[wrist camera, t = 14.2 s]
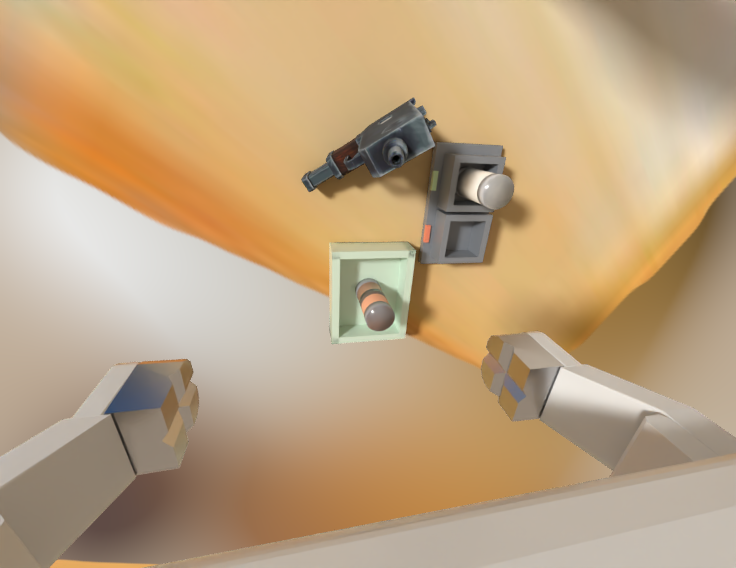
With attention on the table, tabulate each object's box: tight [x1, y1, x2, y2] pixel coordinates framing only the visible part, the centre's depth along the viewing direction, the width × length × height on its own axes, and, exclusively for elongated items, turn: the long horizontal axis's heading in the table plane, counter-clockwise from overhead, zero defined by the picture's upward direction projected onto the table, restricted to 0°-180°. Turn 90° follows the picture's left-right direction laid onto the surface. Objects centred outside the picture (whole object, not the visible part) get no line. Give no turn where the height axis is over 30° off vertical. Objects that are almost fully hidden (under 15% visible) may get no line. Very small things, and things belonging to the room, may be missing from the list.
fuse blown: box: [355, 278, 395, 331], centre depth 43 cm, size 4×4×8 cm
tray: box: [329, 242, 416, 344], centre depth 45 cm, size 14×11×4 cm
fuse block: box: [419, 142, 506, 264], centre depth 42 cm, size 16×9×4 cm, turn 177°
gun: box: [302, 98, 436, 192], centre depth 32 cm, size 3×17×15 cm
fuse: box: [455, 167, 514, 210], centre depth 38 cm, size 4×4×8 cm
